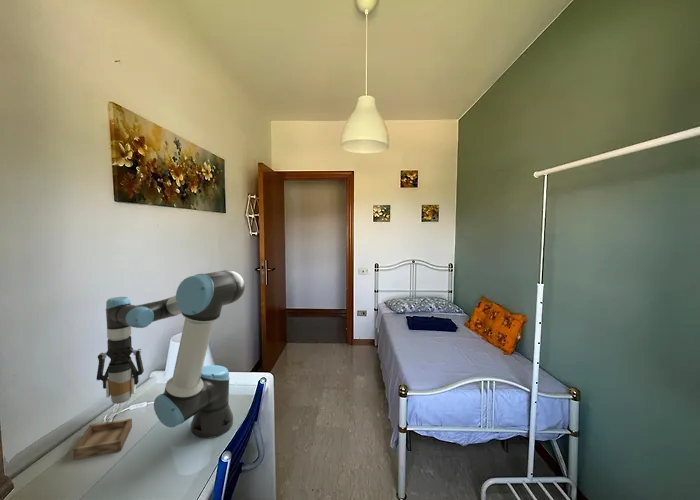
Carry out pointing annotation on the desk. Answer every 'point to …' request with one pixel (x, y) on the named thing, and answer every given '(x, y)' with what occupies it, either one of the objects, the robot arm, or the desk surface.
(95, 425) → the tray
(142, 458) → the desk surface
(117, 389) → the coffee cup
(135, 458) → the desk surface
